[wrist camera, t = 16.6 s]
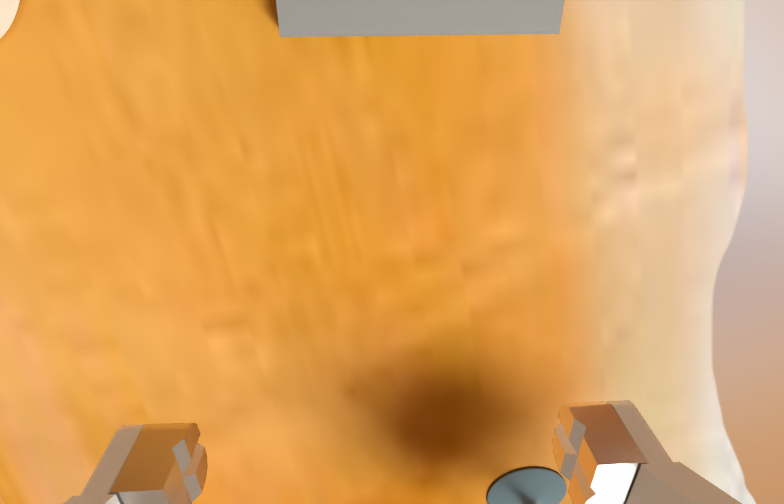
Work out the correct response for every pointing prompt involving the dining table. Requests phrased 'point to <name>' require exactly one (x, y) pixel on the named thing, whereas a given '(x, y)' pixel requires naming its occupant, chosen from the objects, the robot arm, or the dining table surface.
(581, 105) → the dining table surface
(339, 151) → the dining table surface
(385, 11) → the deck
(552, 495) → the cocktail glass
